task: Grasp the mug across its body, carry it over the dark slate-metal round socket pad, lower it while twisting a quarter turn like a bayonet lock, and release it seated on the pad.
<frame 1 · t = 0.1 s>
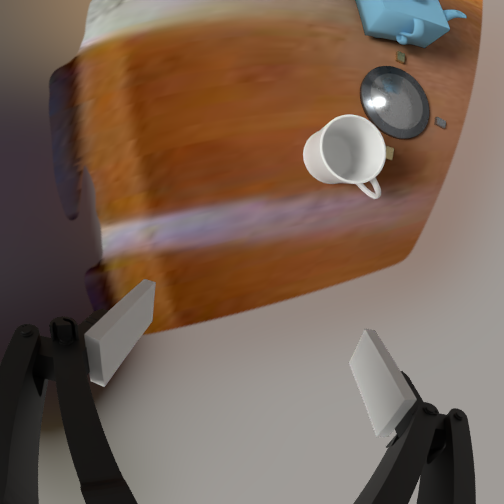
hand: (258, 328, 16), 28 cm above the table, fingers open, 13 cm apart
teapot: (399, 26, 31), on the table
mug: (336, 165, 40), on the table
socket pad: (395, 102, 36), on the table
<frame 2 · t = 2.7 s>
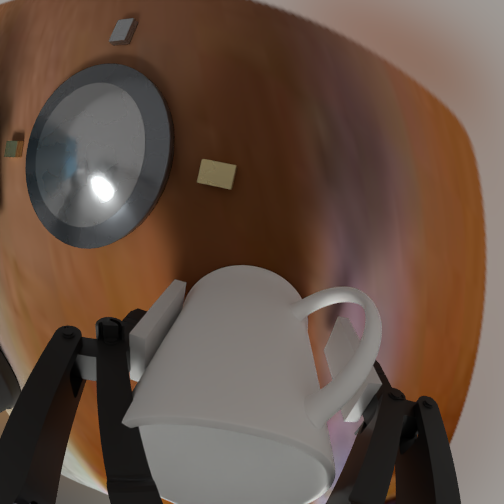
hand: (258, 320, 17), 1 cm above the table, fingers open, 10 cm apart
mug: (264, 311, 18), on the table, touching gripper
socket pad: (89, 154, 16), on the table
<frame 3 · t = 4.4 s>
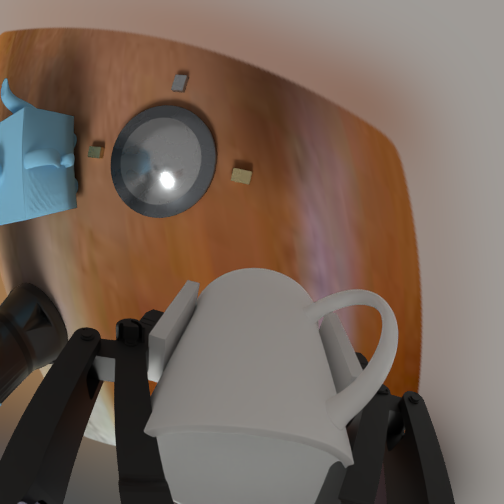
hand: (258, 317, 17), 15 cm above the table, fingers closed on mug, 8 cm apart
teapot: (56, 148, 29), on the table
mug: (274, 313, 18), point 14 cm above the table, touching gripper
socket pad: (161, 160, 29), on the table
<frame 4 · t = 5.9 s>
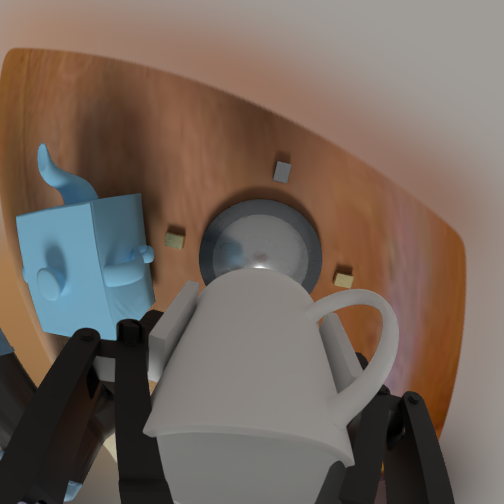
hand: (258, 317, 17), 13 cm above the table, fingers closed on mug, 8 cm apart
teapot: (112, 223, 30), on the table
mug: (275, 313, 18), point 12 cm above the table, touching gripper
socket pad: (260, 259, 30), on the table
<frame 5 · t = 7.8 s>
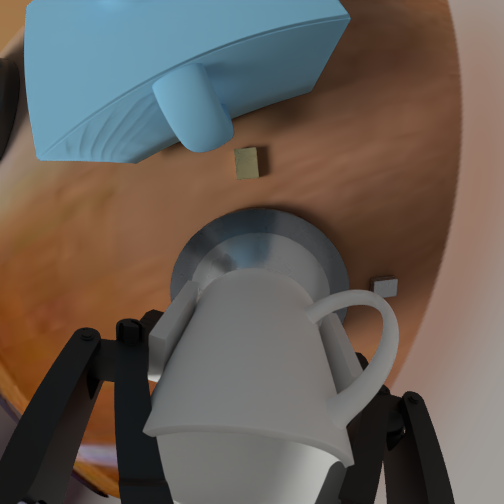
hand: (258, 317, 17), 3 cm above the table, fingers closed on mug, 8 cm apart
teapot: (236, 54, 16), on the table
mug: (275, 313, 18), point 2 cm above the table, touching gripper
socket pad: (259, 296, 20), on the table
when the fingers open (3 cm above the table, at t = 9.0 s): mug stays where it is, resting on socket pad.
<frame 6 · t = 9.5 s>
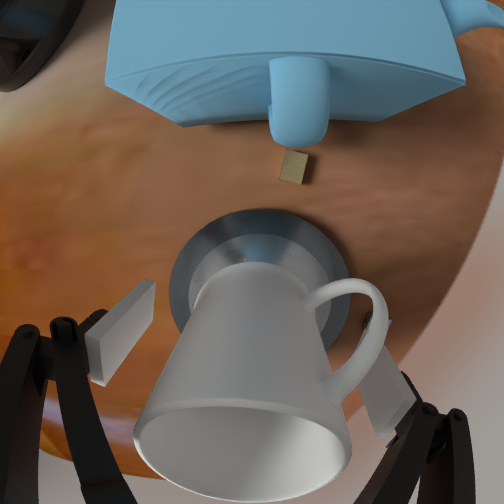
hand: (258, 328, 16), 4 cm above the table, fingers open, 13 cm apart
teapot: (316, 58, 15), on the table
mug: (273, 305, 19), point 1 cm above the table, touching socket pad
socket pad: (259, 299, 20), on the table
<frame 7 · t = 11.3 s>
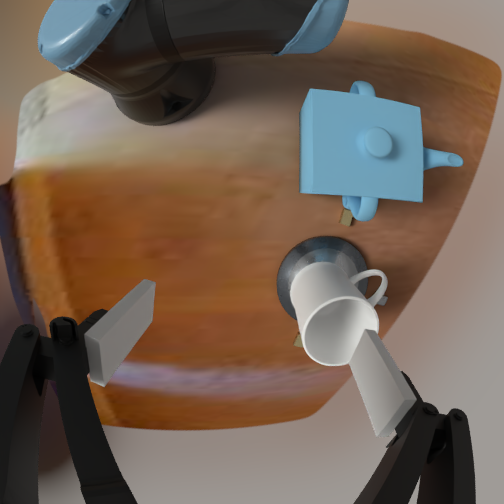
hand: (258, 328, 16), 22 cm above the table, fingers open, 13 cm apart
teapot: (362, 158, 34), on the table
mug: (330, 284, 37), point 1 cm above the table, touching socket pad
socket pad: (322, 281, 38), on the table
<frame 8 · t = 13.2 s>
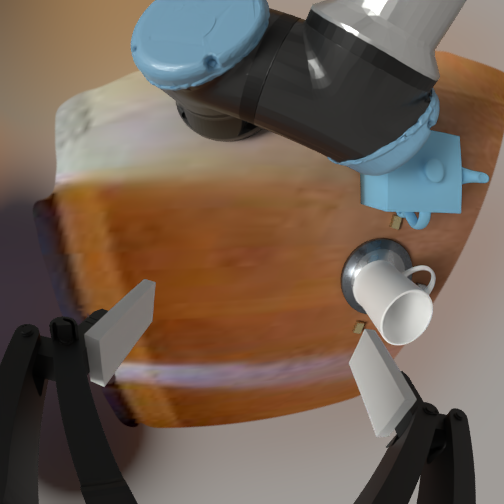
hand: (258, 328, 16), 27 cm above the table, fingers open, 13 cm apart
teapot: (406, 171, 38), on the table
mug: (384, 278, 41), point 1 cm above the table, touching socket pad
socket pad: (377, 276, 42), on the table
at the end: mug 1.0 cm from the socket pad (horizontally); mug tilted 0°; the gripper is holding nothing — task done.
